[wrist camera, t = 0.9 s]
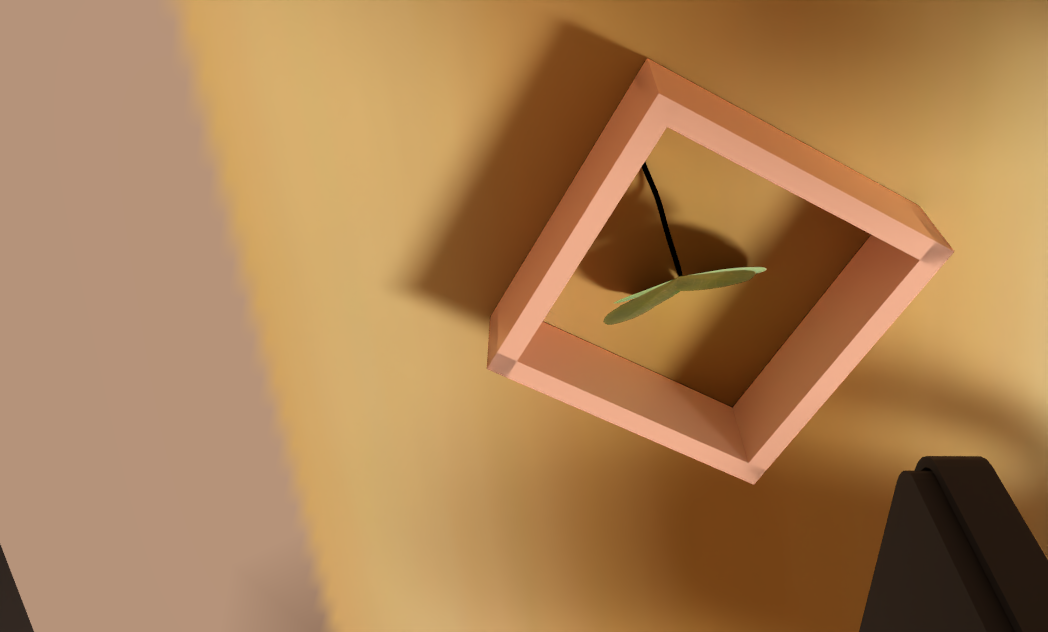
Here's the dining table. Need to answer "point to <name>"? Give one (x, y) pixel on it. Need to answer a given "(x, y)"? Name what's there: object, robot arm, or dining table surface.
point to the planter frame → (807, 355)
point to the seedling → (681, 283)
